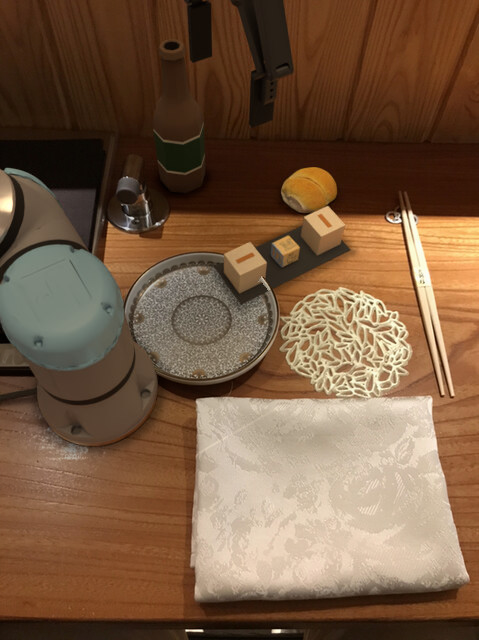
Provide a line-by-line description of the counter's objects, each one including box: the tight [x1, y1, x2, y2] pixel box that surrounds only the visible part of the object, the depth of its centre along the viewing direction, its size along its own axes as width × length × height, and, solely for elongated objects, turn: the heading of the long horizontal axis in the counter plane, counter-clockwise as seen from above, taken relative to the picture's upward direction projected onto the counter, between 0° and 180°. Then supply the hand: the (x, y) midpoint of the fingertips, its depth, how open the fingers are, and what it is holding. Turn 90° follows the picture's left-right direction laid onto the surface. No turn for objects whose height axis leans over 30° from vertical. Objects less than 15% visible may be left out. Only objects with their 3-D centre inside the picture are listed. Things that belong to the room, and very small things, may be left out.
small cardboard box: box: [223, 241, 267, 293], centre depth 82 cm, size 4×4×5 cm
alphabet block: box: [271, 236, 300, 268], centre depth 85 cm, size 3×3×3 cm
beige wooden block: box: [301, 205, 346, 255], centre depth 86 cm, size 4×4×5 cm
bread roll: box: [280, 166, 338, 214], centre depth 92 cm, size 8×9×4 cm
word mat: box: [213, 224, 352, 305], centre depth 86 cm, size 20×8×1 cm, turn 121°
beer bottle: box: [152, 38, 206, 194], centre depth 85 cm, size 8×8×24 cm
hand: (229, 89), depth 66 cm, fingers open, 13 cm apart
